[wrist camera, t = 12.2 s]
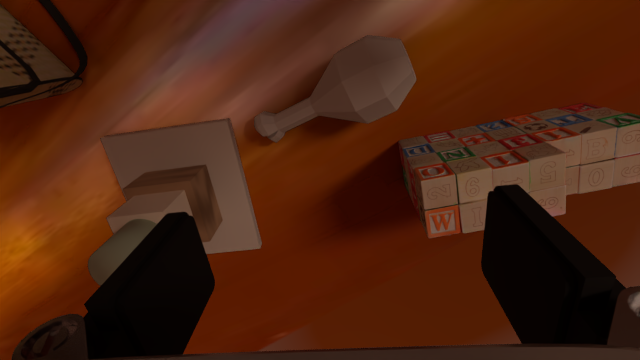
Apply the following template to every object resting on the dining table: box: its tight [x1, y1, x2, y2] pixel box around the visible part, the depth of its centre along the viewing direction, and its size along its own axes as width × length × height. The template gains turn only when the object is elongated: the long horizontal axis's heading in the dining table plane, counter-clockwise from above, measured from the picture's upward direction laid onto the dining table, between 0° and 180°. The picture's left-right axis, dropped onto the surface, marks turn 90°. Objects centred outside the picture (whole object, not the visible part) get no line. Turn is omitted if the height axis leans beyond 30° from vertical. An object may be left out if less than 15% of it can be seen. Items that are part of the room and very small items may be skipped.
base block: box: [123, 165, 223, 242], centre depth 41 cm, size 8×8×5 cm
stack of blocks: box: [398, 103, 640, 238], centre depth 35 cm, size 21×6×12 cm, turn 104°
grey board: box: [100, 118, 262, 254], centre depth 44 cm, size 18×16×1 cm
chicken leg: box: [254, 35, 416, 143], centre depth 36 cm, size 8×18×8 cm, turn 118°
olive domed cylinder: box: [88, 219, 157, 286], centre depth 32 cm, size 5×5×5 cm
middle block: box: [106, 190, 194, 234], centre depth 37 cm, size 6×6×5 cm
